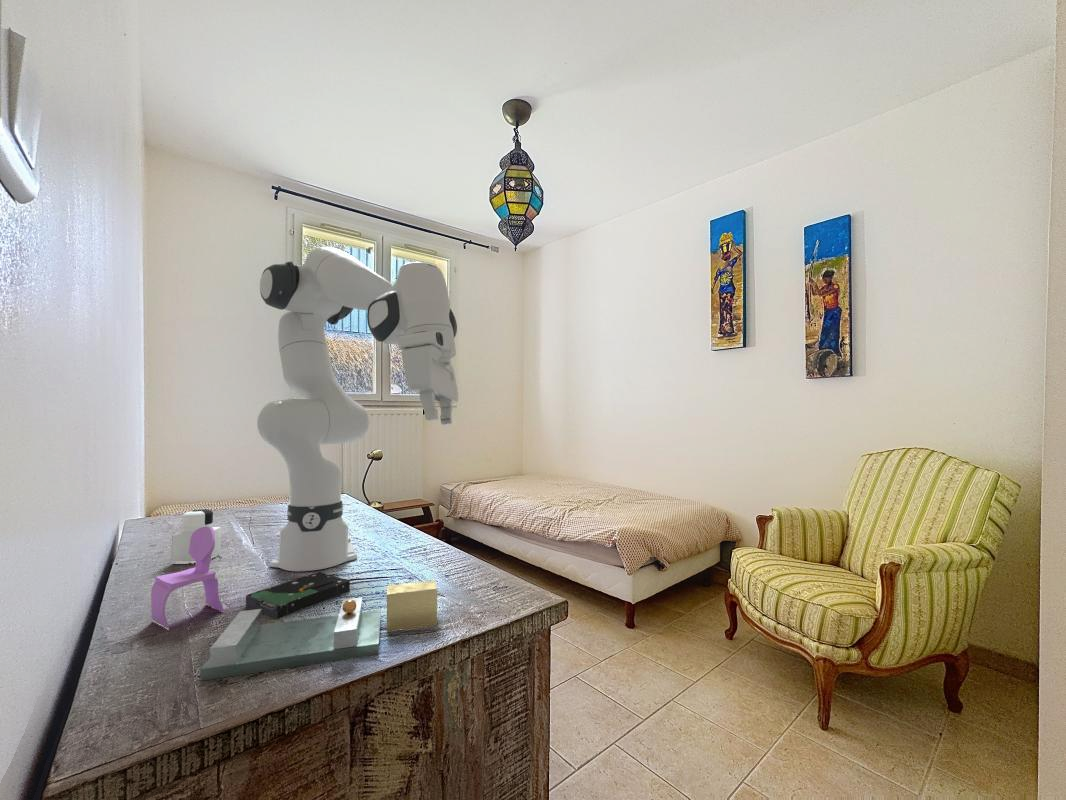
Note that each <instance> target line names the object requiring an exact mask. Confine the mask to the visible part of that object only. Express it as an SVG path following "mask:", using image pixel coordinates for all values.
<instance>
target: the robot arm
mask: <svg viewBox="0 0 1066 800" xmlns="http://www.w3.org/2000/svg"><path fill="white" fill-rule="evenodd" d="M259 292H260V297H261V298H262V300H263V301H264V303H265V304H266V305H268V306H269V307H272V308H273V309H278V310H280V311H281V310H286V311H287V312H285V313H284V314H282V316H280V319H279V321H278V331H277V332H278V337H277V339H278V350H279V356H280V361H281V368H282V373H283V374H282V375H283V380H284V382H285V383H286V385H288V387H290V388H291V389H292V390H294V391H296V392H298V393H300V395H302V396H303V397H305V399H302V398H301V399H297V398H288V399H282V400H276V401H275V400H274V401H269V402H268V403H266V404H265V405H264V407H262V409H261V410H260V411H259V414H258V417H257V425H256V426H257V431H258V433H259V435H260V437H261V439H263V440H264V442H266V443H267V444H269V445H270V446H272V447H273V448H274V449H275V450H276V451H277V452H278V453H279V454H280V455H281V457H282V458H283V460H284V463H285V465H286V468H287V470H288V475H289V476H288V477H289V504H288V505H287V511H286V515H287V523H286V524H285V525H284V526H283V527H282V528H281V529H280V531H279V540H278V553H277V556H276V557H275V558H274V559H272V560H271V561H270V564H269V567H271V568H280V569H282V570H284V571H287V572H288V571H289V572H310V571H317V570H323V569H327V568H332V567H335V566H338V565H341V564H343V563H345V562H350V561H353V560H356V559H357V558H358V554H357V551H356V550H355V548H354V545H353V544H352V542H351V538H350V537H349V525H348V524H347V522H346V521H345V520H344V518H343V517H342V516H343V514H344V513H343V512H344V511H343V510H344V505H343V501H342V499H341V498H342V494H341V493H342V472H341V469H340V468H339V467H338V465H337V464H336V463H334V462H333V461H330V460H328V459H326V458H324V456H323V454H322V451H321V449H320V448H321V447H320V446H321V445H342V444H343V445H344V444H347V443H351V442H352V443H353V442H355V441H358V440H362V438H364V436H365V435H366V434H367V432H368V429H369V425H370V419H369V414H368V412H367V410H366V408H365V407H364V406H363V405H362V404H360V403H358V402H357V401H355V400H354V399H353V398H352V397H351V396H350V395H348V394H347V392H346V391H345V390H344V388H343V387H342V386H341V384H340V383H339V381H338V379H337V377H336V376H335V372H334V369H333V366H332V361H331V357H330V353H329V349H328V341H327V340H326V335H325V326H326V323H328V324H329V325H332V326H333V325H337V324H338V323H339V322H340V320H342V319H345V318H346V317H348V316H349V314H350V313H352V311H353V310H354V309H355V310H362V311H366V312H367V314H366V320H367V326H368V328H369V331H370V332H369V333H370V334H371V336H372V337H373V338H374V339H375V340H376V341H377V342H380V343H383V344H388V345H396V346H397V348H398V349H399V350H400V351H401V358H402V365H403V370H404V376H405V380H406V383H407V384H406V385H407V386H408V388H409V390H410V391H412V392H414V393H416V394H418V395H419V401H420V403H421V405H422V408H423V411H424V418H425V420H426V421H429V422H432V421H437V420H438V419H440V424H441V425H443V426H448V425H451V424H452V423H453V419H452V418H453V417H452V415H453V414H452V413H453V404H455V403H457V402H458V401H459V393H458V385H457V380H456V375H455V370H454V368H453V366H452V364H451V360H450V359H453V358H454V357H455V356H456V355H457V350H456V343H455V337H456V336H457V332H458V324H457V320H456V317H455V314H454V312H453V310H452V309H451V305H450V298H449V297H450V296H449V291H448V285H447V282H446V278H445V276H444V274H443V272H442V270H441V268H439V267H438V266H436V265H435V264H434V265H433V264H431V263H428V262H424V261H423V262H422V261H410V262H406V263H404V264H402V265H401V266H400V267H399V269H398V273H397V277H396V279H395V282H393V283H391V282H390V281H389V280H387V279H386V278H384V277H383V276H381V275H380V274H378V273H376V271H374V270H372V269H371V268H369V267H368V266H366V265H365V264H364V263H362V262H361V261H360V260H358V259H356V258H355V257H354V256H352V255H350V253H348V252H345V251H343V250H340V249H338V248H335V247H330V246H319V247H317V248H314V249H312V250H311V251H310V253H308V255H307V257H306V259H305V261H304V264H302V265H297V264H294V262H293V261H287V262H285V263H276V264H275V263H274V264H271V265H270V266H268V267H266V268H265V269H264V270H263V272H262V274H261V277H260V281H259ZM436 402H437V403H438V404H439V405H438V406H439V408H440V415H439V416H440V417H439V416H438V409H437V407H436Z"/></svg>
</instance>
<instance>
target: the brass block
mask: <svg viewBox="0 0 1066 800" xmlns="http://www.w3.org/2000/svg"><path fill="white" fill-rule="evenodd" d="M437 625H438V587H437V582H436V580H435V579H434V580H426V581H418V582H416V581H415V582H409V583H397V584H389V585H387V586H386V629H385V630H386V631H388V632H393V631H392V630H396V631H401V630H400V629H403V630H409V629H408V628H410V629H415V628H417V629H418V628H422V627H431V626H437Z"/></svg>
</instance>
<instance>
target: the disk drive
mask: <svg viewBox="0 0 1066 800" xmlns="http://www.w3.org/2000/svg"><path fill="white" fill-rule="evenodd" d="M350 587H351V581H350V580H349V579H345V578H341V577H338V576H335V575H330V576H328V575H327V574H326V573H325V572H321V571H318V572H314V573H311V574H308V575H305V576H302V577H299V578H296V579H292V580H289V581H286V582H284V583H280V584H276V585H274V586H271V587H267V588H265V589H260V590H258V591H256V592H252V593H249V594H247V595H245V608H247V609H249V610H255V609H262V615H264V616H266V617H269V618H271V619H273V620H274V619H275V620H278V619H281V618H283V617H287V616H290V615H293V614H294V613H298V612H300V611H302V610H305V609H307V607H308V608H310V607H312V605H313V606H315V605H318V604H321V603H323V602H326V601H328V600H331V599H333V598H335V597H340V596H341V595H344V594H346V593H350V592H351V591H350V590H351V589H350Z"/></svg>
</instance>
